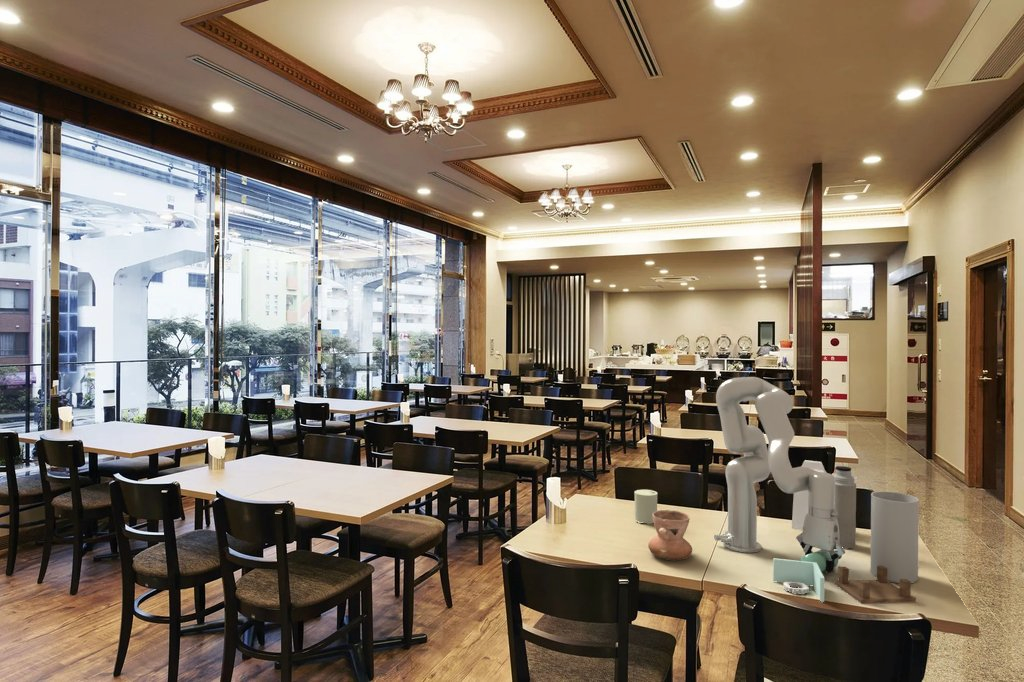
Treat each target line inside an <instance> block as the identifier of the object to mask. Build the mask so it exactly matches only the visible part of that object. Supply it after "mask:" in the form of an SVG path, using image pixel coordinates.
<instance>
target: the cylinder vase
mask: <svg viewBox="0 0 1024 682" xmlns="http://www.w3.org/2000/svg"><path fill="white" fill-rule="evenodd" d="M919 500H920V499H919V498H918V497H916V496H913V495H911V494H906V493H901V492H894V491H872V492H871V493H870V572H871V574H872V575H874V576H875V577H876V578H877V566H885V567H886V568H887V581H888V582H890V583H892V584H893V583H894V584H900V579H907V580H909V581H911V584H914V583H916V582H917V581H918V580H919V521H920V520H919V519H920V518H919V516H920V515H919V514H920V513H919V510H920V509H919V507H920V506H919V505H920V503H919Z"/></svg>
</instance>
